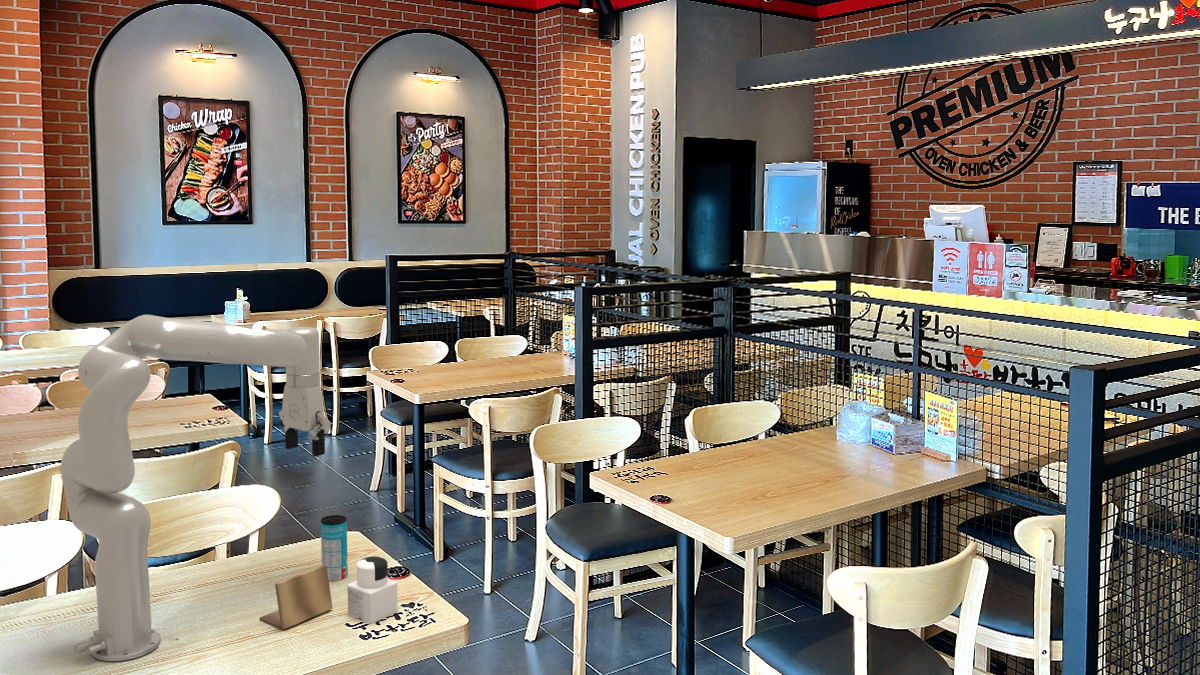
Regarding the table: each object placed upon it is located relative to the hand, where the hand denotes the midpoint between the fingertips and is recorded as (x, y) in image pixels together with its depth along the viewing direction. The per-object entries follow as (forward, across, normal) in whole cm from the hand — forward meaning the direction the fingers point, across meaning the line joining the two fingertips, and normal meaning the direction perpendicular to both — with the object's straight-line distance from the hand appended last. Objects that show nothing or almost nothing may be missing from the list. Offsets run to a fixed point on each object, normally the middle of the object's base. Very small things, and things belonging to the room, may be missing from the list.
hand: (305, 451), depth 227 cm
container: (+31, +28, -5) cm, 43 cm away
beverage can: (+31, +6, +3) cm, 32 cm away
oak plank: (+25, +20, -16) cm, 36 cm away
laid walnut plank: (+31, +21, -16) cm, 41 cm away
